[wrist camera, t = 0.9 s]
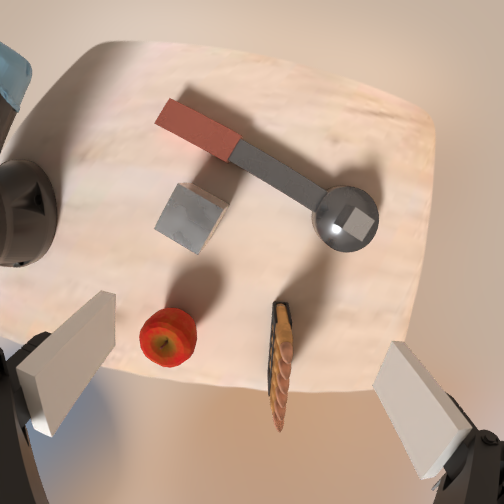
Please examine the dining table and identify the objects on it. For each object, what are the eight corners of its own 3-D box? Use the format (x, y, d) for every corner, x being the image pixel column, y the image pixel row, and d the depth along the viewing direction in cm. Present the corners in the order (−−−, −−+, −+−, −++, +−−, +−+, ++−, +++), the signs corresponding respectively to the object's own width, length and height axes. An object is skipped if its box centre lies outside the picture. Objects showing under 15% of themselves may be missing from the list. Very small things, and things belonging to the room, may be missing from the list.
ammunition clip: (272, 301, 37) (278, 353, 25) (288, 302, 37) (300, 354, 25) (267, 374, 39) (269, 437, 28) (281, 374, 39) (287, 438, 28)
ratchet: (153, 141, 33) (132, 133, 27) (184, 89, 32) (169, 72, 25) (349, 257, 36) (366, 273, 29) (380, 207, 34) (403, 213, 28)
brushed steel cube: (170, 220, 35) (153, 228, 29) (191, 182, 34) (178, 183, 28) (207, 242, 36) (197, 254, 30) (229, 204, 35) (223, 209, 29)
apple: (201, 296, 37) (188, 323, 30) (205, 341, 38) (194, 374, 31) (152, 296, 37) (130, 321, 30) (158, 339, 39) (140, 370, 31)
